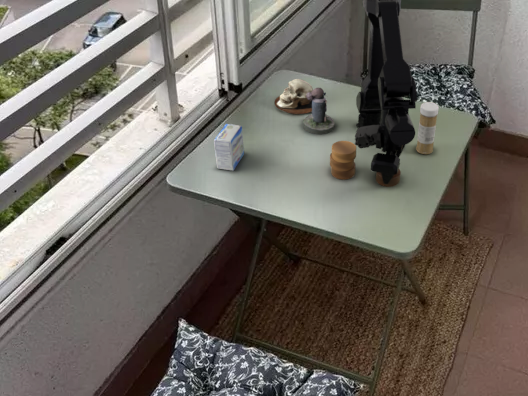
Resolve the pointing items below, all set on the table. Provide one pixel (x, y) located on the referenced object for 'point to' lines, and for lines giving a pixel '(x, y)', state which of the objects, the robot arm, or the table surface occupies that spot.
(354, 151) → the oak chip
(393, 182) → the walnut chip
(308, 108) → the skull
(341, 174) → the chip pile
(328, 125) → the figurine
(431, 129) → the sprinkles bottle
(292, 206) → the table surface
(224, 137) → the medicine box
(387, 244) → the table surface
